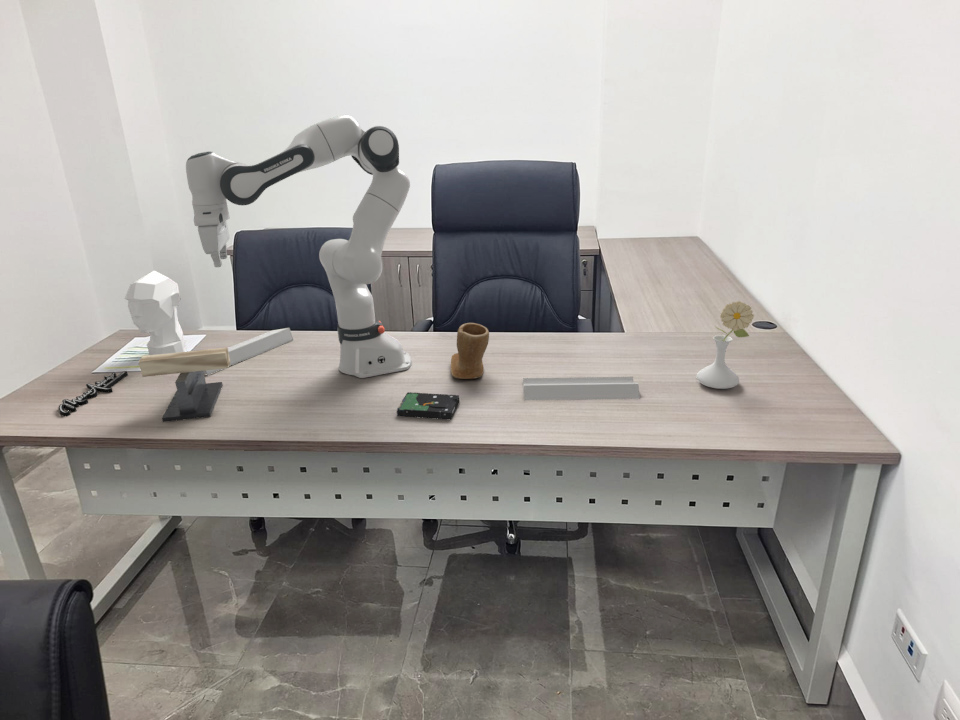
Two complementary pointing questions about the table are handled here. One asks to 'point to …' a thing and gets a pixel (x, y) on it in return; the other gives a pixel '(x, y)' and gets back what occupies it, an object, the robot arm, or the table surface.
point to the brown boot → (469, 351)
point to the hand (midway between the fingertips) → (221, 262)
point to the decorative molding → (256, 346)
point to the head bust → (157, 312)
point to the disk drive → (428, 405)
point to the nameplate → (91, 393)
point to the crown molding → (580, 388)
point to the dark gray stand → (192, 397)
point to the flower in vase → (719, 372)
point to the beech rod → (184, 362)
